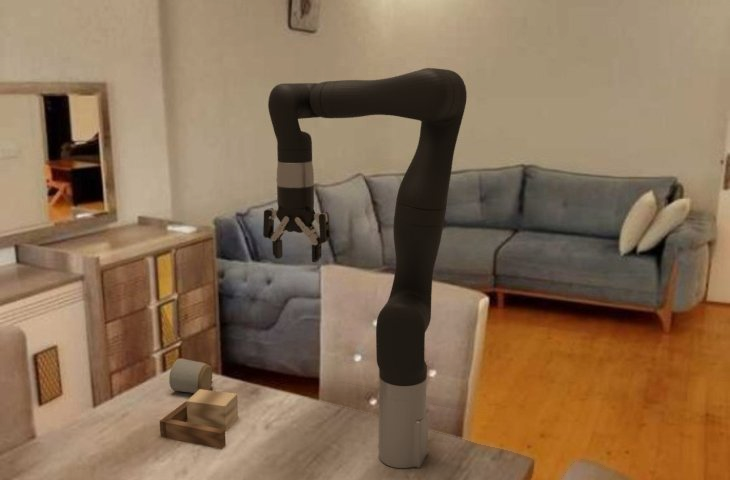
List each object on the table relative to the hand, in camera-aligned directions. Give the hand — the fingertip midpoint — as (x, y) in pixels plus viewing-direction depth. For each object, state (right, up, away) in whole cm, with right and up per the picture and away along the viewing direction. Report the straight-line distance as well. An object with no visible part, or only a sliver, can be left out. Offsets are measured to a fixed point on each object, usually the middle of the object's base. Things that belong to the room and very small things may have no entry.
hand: (296, 259), depth 146 cm
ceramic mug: (-27, -32, +22) cm, 47 cm away
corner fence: (-18, -36, +5) cm, 40 cm away
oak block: (-19, -36, +6) cm, 41 cm away
